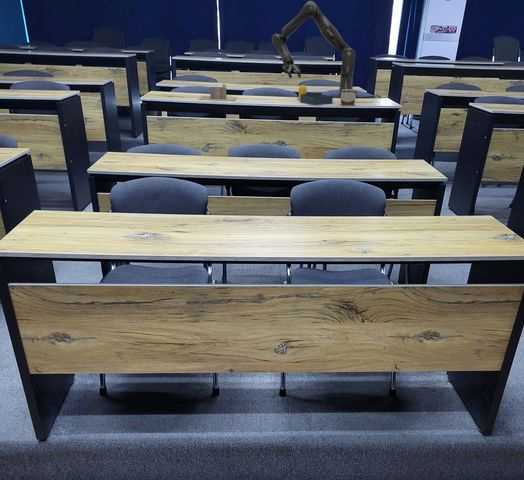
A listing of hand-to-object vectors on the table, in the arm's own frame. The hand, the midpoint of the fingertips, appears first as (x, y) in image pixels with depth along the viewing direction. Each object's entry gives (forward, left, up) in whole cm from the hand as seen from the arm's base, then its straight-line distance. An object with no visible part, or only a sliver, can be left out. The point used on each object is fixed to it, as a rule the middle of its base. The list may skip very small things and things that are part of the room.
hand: (295, 77), depth 392 cm
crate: (+2, +28, -14) cm, 31 cm away
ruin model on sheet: (+57, -19, -14) cm, 62 cm away
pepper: (+3, +12, -14) cm, 18 cm away
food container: (-12, +46, -14) cm, 50 cm away
